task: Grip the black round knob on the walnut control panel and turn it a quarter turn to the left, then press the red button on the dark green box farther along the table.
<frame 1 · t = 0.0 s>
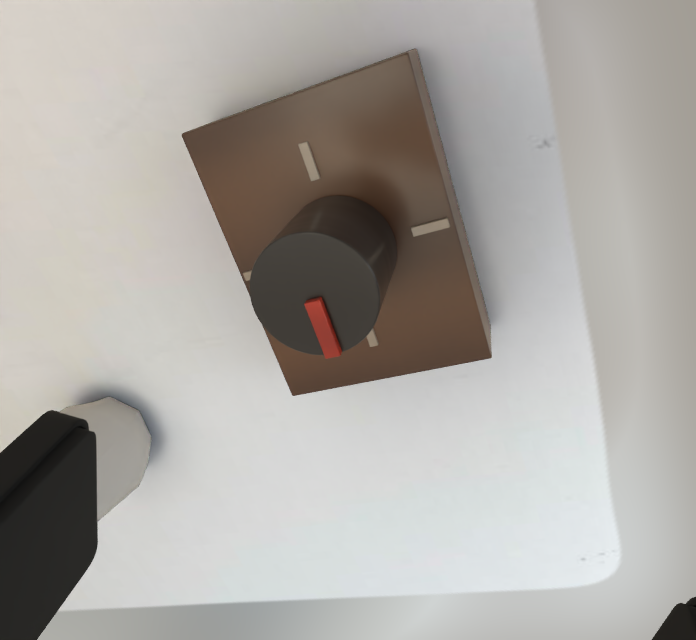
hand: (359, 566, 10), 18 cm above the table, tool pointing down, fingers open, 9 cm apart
salt shaker: (119, 425, 34), on the table
knob: (327, 273, 22), point 5 cm above the table, hinge at 0.0°
panel: (355, 227, 26), on the table
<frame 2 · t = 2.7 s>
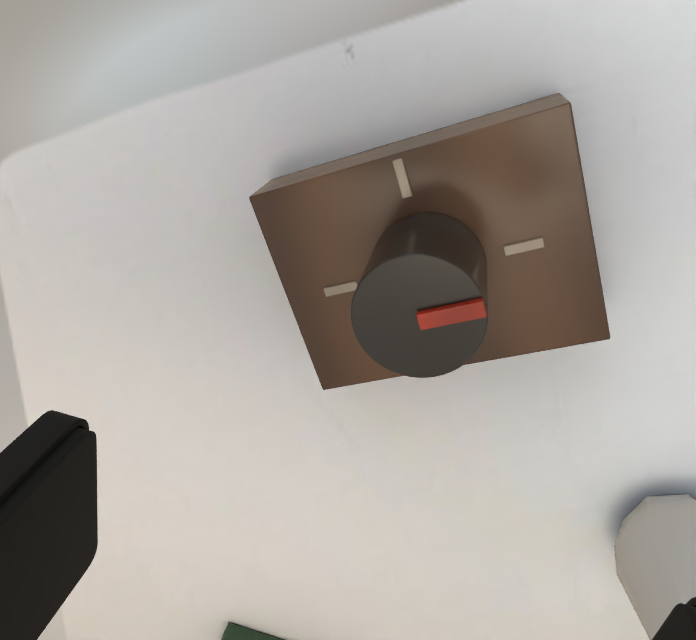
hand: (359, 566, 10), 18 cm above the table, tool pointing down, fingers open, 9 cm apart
salt shaker: (667, 521, 30), on the table
knob: (423, 293, 21), point 5 cm above the table, hinge at 0.0°
panel: (433, 242, 26), on the table
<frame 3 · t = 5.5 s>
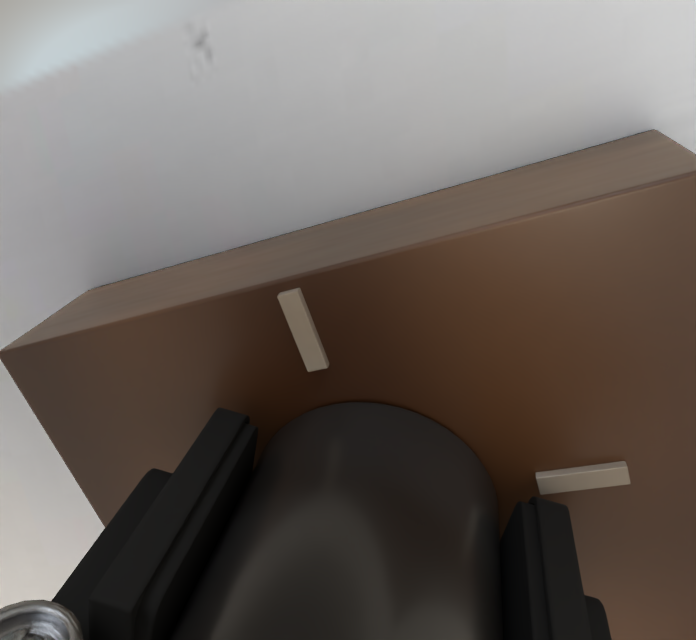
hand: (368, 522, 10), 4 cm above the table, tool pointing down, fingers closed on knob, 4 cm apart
knob: (347, 618, 9), point 5 cm above the table, hinge at 0.0°, touching gripper
panel: (394, 407, 14), on the table
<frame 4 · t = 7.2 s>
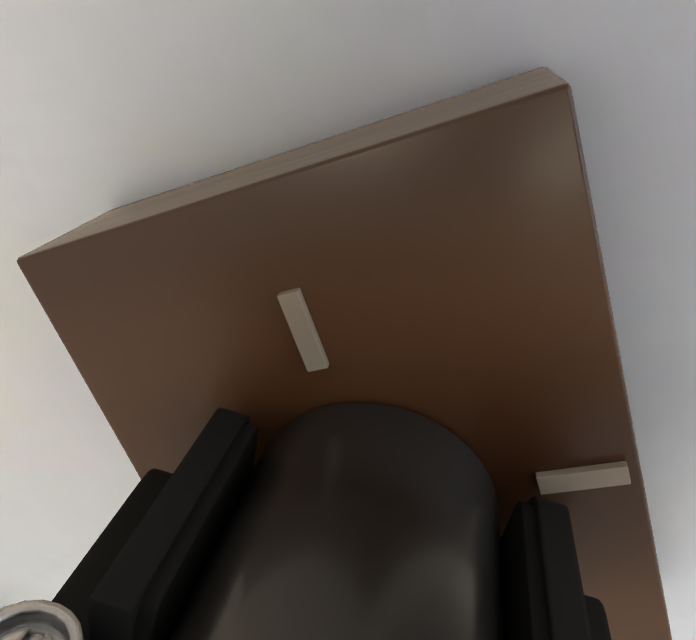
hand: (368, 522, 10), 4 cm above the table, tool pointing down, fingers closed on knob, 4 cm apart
knob: (347, 618, 9), point 5 cm above the table, hinge at 90.4°, touching gripper
panel: (394, 407, 14), on the table
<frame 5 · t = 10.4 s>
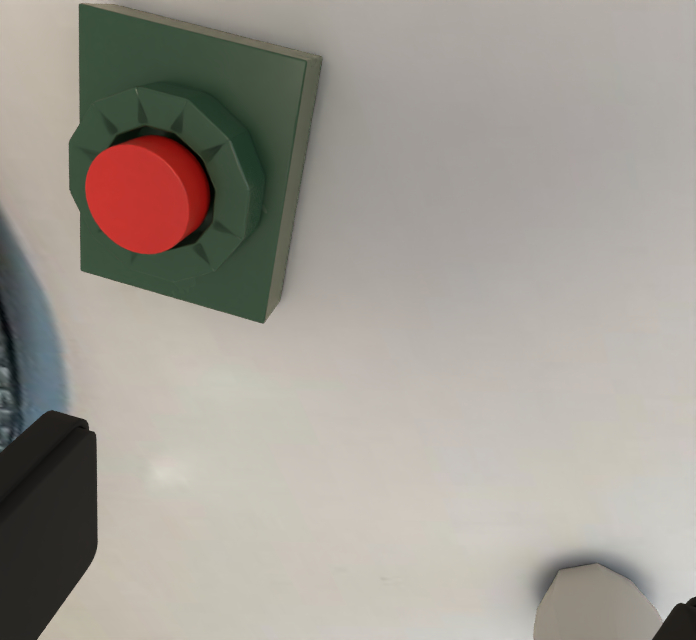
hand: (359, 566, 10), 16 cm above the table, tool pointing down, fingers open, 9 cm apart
button box: (204, 165, 24), on the table
salt shaker: (590, 589, 30), on the table
button: (149, 194, 20), point 4 cm above the table, slide at 0.1 cm
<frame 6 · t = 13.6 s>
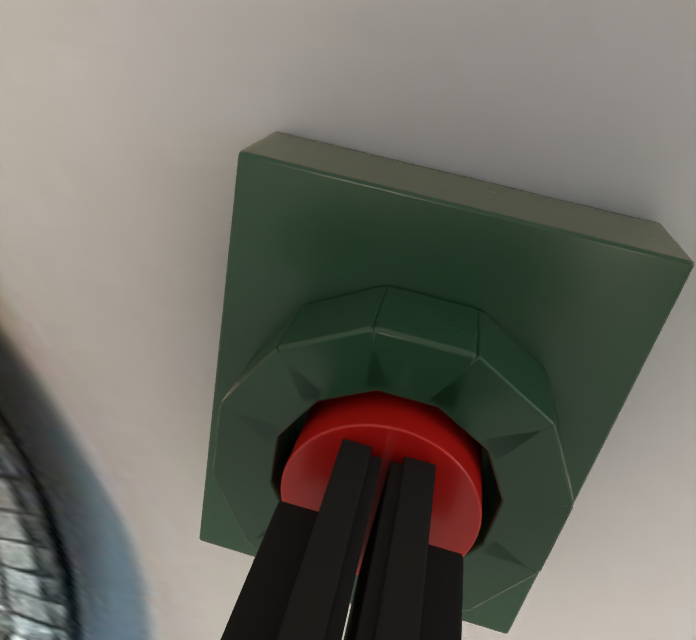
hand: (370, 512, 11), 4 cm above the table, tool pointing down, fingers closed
button box: (406, 377, 15), on the table
button: (384, 475, 11), point 4 cm above the table, slide at -0.8 cm, touching gripper
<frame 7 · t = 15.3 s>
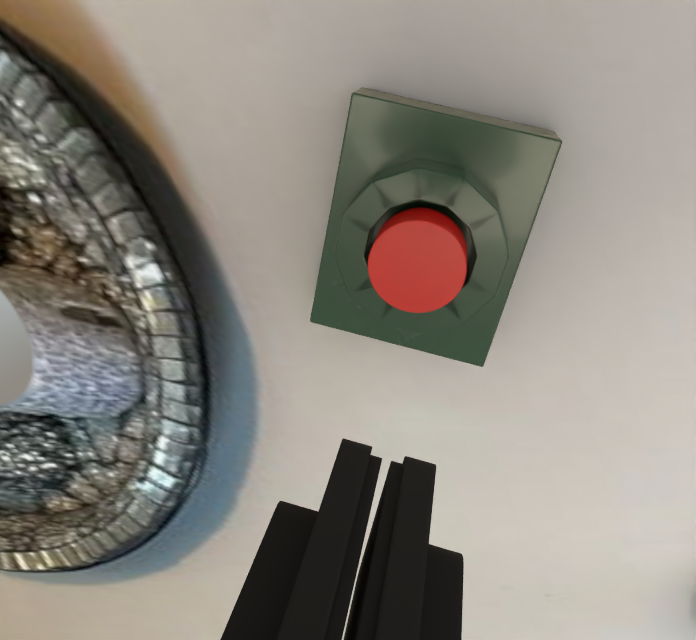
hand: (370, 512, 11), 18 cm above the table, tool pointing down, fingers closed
button box: (426, 225, 27), on the table
button: (418, 260, 23), point 4 cm above the table, slide at 0.1 cm
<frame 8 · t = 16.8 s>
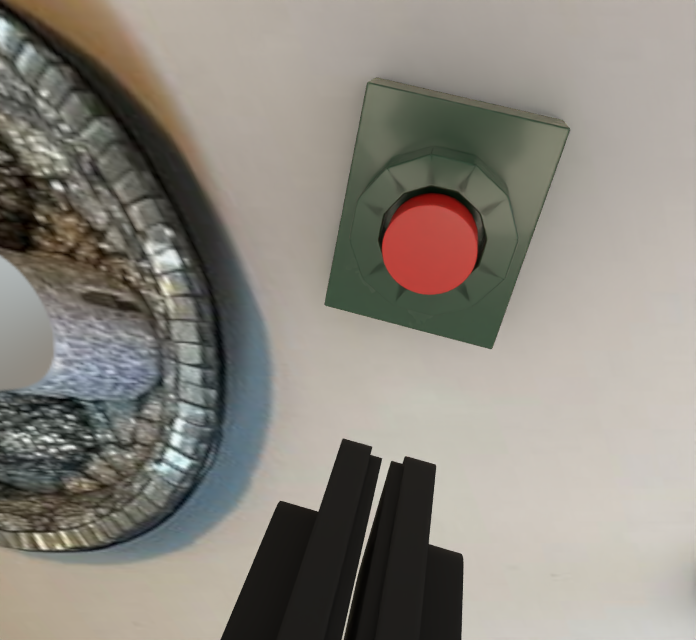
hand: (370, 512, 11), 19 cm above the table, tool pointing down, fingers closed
button box: (437, 211, 27), on the table
button: (430, 243, 24), point 4 cm above the table, slide at 0.1 cm
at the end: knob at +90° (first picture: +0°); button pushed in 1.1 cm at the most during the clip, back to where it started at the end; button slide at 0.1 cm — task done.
